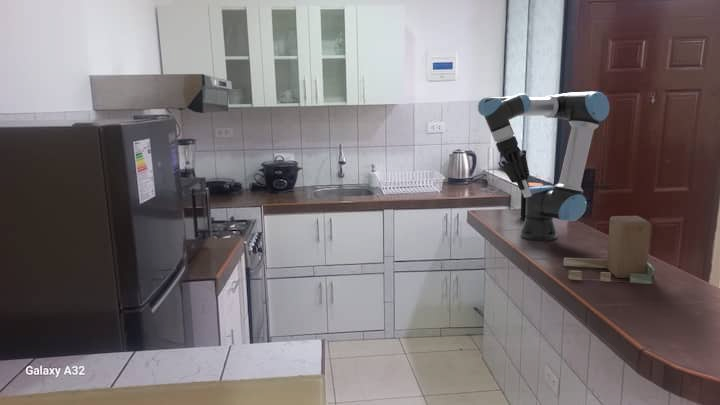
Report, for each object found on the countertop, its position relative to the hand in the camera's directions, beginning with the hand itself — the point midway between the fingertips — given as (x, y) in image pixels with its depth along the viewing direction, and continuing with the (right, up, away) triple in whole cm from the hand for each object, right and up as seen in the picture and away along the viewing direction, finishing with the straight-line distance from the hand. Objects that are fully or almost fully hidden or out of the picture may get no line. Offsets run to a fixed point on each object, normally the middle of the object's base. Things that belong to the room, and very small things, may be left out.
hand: (528, 196), depth 184 cm
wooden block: (+30, -28, -14) cm, 43 cm away
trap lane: (+23, -27, -13) cm, 38 cm away
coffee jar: (+26, -11, +70) cm, 75 cm away
